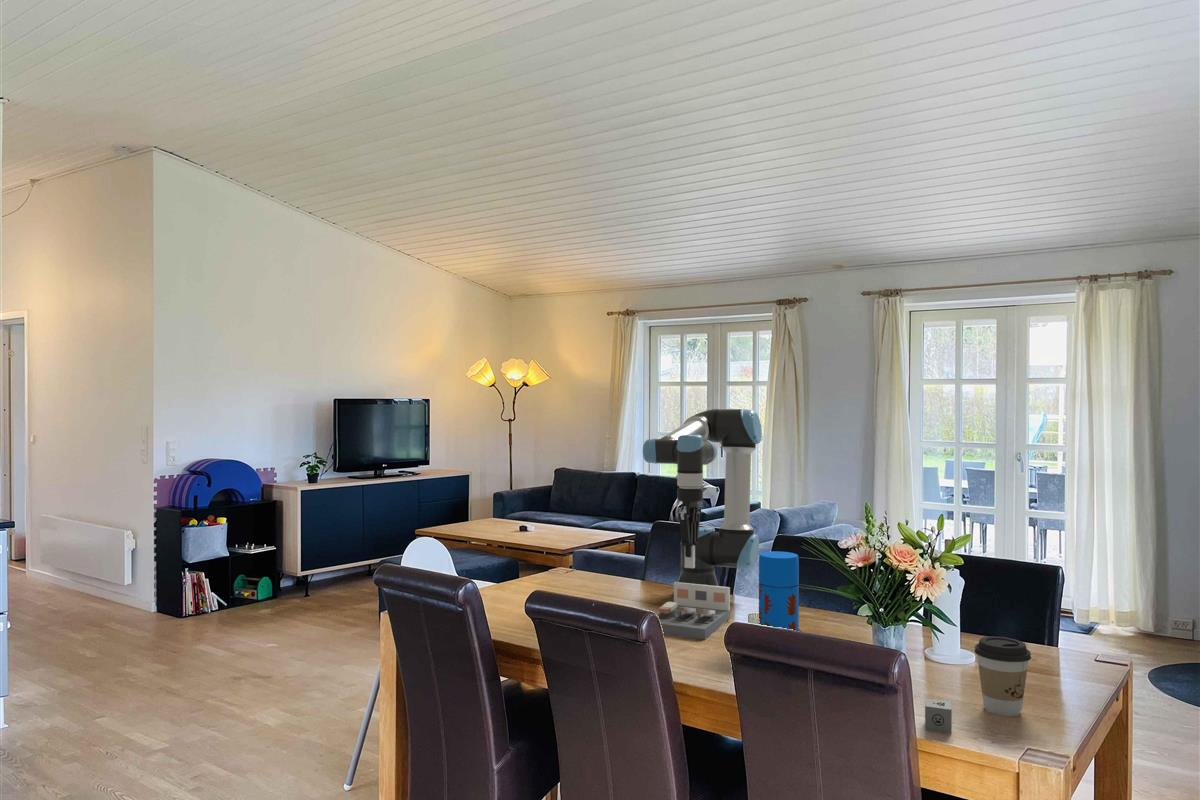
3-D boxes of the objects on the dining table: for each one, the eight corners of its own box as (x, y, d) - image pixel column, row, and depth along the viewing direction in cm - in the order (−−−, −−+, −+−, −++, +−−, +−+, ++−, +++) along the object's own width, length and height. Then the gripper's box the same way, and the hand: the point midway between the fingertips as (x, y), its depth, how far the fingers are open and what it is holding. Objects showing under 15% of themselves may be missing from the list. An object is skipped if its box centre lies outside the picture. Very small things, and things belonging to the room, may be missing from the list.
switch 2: (686, 611, 256) (686, 607, 257) (695, 612, 255) (696, 608, 255) (677, 610, 249) (677, 606, 250) (687, 612, 248) (687, 607, 248)
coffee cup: (1005, 723, 178) (1005, 652, 178) (962, 705, 188) (962, 638, 188) (1043, 715, 182) (1043, 646, 182) (999, 698, 193) (999, 632, 193)
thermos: (796, 640, 239) (796, 551, 239) (801, 651, 229) (801, 558, 229) (757, 638, 240) (757, 550, 240) (760, 650, 230) (760, 558, 230)
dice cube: (951, 734, 172) (951, 709, 172) (925, 730, 174) (925, 706, 174) (951, 725, 177) (951, 701, 177) (926, 721, 179) (926, 698, 179)
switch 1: (668, 605, 259) (668, 601, 259) (677, 606, 258) (677, 602, 258) (658, 612, 252) (658, 608, 252) (668, 613, 251) (667, 609, 251)
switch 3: (705, 613, 254) (705, 609, 254) (714, 614, 252) (715, 610, 253) (696, 613, 247) (697, 608, 247) (706, 614, 245) (707, 609, 246)
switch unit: (674, 613, 269) (674, 581, 269) (729, 619, 261) (729, 587, 261) (646, 632, 247) (646, 597, 247) (705, 639, 239) (705, 604, 239)
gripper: (686, 484, 256) (685, 562, 256) (669, 488, 244) (669, 570, 244) (709, 485, 253) (709, 564, 253) (694, 489, 241) (693, 572, 241)
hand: (689, 567), depth 248 cm, fingers closed
